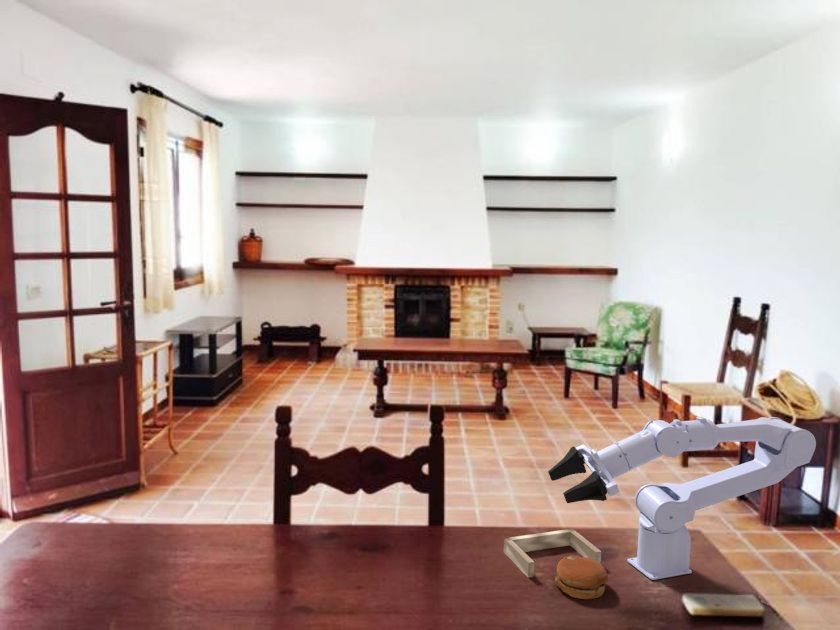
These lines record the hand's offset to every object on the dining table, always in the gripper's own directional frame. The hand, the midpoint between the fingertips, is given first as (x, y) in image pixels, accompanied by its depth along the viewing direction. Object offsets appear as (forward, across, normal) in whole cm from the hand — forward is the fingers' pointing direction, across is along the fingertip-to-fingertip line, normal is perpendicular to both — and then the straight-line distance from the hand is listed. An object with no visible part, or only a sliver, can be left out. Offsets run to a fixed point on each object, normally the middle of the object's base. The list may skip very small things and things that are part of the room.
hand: (557, 486), depth 128 cm
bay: (+6, -1, +17) cm, 18 cm away
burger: (+4, +9, +16) cm, 19 cm away
